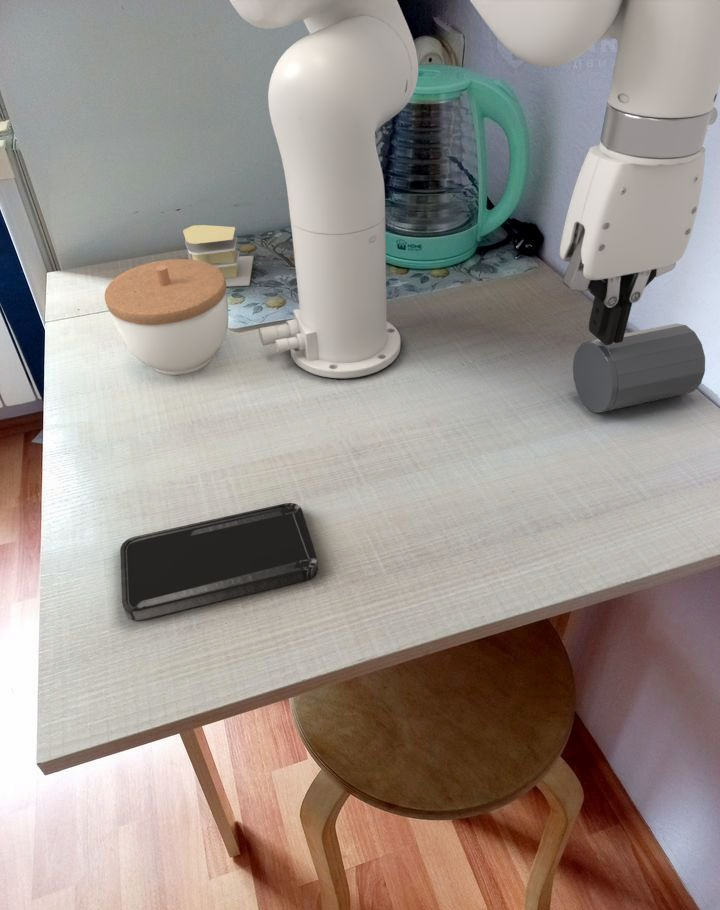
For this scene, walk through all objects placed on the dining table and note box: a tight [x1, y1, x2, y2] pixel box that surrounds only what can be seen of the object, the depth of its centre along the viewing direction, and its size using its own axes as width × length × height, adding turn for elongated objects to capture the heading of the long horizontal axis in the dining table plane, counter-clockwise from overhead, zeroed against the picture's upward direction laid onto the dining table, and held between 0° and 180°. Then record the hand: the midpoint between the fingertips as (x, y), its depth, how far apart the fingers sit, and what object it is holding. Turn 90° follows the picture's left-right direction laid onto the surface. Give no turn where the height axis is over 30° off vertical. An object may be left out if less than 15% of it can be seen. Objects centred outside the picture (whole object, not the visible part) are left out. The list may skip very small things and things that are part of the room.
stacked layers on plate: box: [182, 224, 254, 288], centre depth 95 cm, size 10×9×6 cm
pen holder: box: [572, 322, 706, 413], centre depth 70 cm, size 7×7×10 cm
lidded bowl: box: [104, 258, 229, 376], centre depth 77 cm, size 13×13×11 cm
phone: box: [119, 502, 319, 621], centre depth 57 cm, size 8×1×15 cm
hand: (604, 336), depth 66 cm, fingers closed
